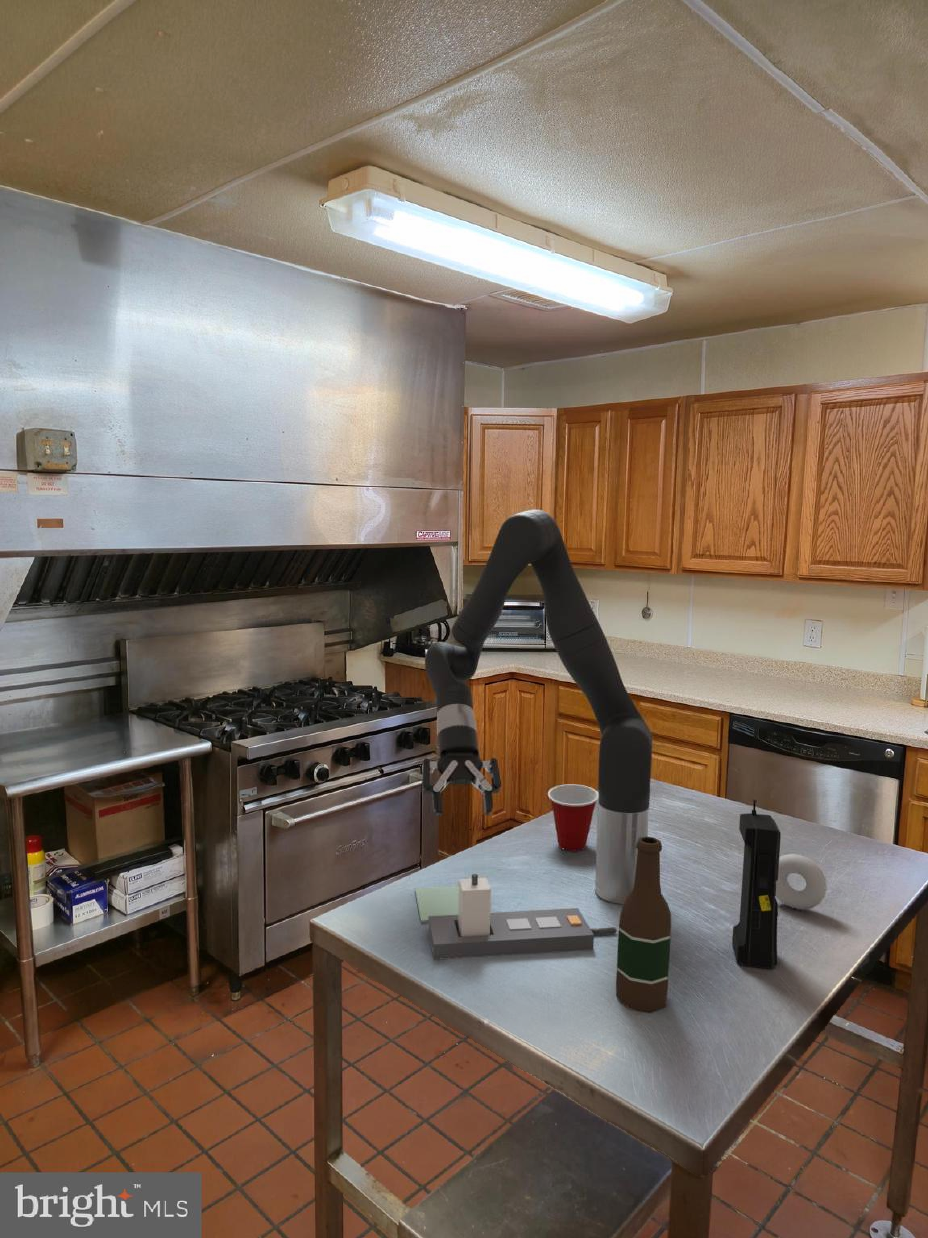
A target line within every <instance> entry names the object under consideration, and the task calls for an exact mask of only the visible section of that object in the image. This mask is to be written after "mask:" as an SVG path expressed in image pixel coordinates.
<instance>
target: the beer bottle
mask: <svg viewBox="0 0 928 1238" xmlns="http://www.w3.org/2000/svg"><path fill="white" fill-rule="evenodd" d="M636 848H637V849H638V854H637V863H636V872H635V881H634V887H633V890H632V891H631V892H630V893H629V895H628V896H627V897H626V899H625V901H624V904H622V906H621V911H620V914H619V922H618V930H617V932H618V933H617V935H618V936H617V958H616V977H615V980H616V981H615V984H616V985H615V997H616V998H617V1000H619V1002H621V1003H622V1004H623V1005H624V1006H626V1007H627V1008H628V1009H629V1010H632V1011H633V1010H635V1011H638V1012H645V1013H653V1012H656V1011H658V1010H661V1009H664V1008H665V1007H666V1005H667V1000H668V999H667V996H668V988H669V979H670V978H669V975H670V973H669V972H670V957H671V956H670V954H671V940H672V939H671V938H672V912H671V909H670V905H669V904H668V902H667V899H665V897H664V896H663V894H662V887H661V864H660V863H661V860H660V859H661V857H660V856H661V853H660V852H662V850H663V845H662V841H661V840H660V839H658V838H655V837H652V836H648V837H641V838H638V841H637V845H636Z"/></svg>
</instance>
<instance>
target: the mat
mask: <svg viewBox="0 0 928 1238" xmlns="http://www.w3.org/2000/svg"><path fill="white" fill-rule="evenodd" d="M414 893H415V897H416V902H417V908H418V909H417V910H418V915H419V919H420V923H421V924H428V916H442V915H458V900H459V885H457V886H438V887H417V888H415V889H414Z"/></svg>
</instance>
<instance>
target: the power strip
mask: <svg viewBox="0 0 928 1238" xmlns="http://www.w3.org/2000/svg"><path fill="white" fill-rule="evenodd" d="M427 924H428V928H427V930H428V935H429V939H430V940H429V941H430V946H432V947H431V951H433V952H432V955H433V956H434V957H433V960H441V959H440V958H449V959H460V958H461V959H462V958H464V959H465V958H477V957H478V958H479V957H493V956H511V955H524V954H525V955H526V954H541V953H543V954H544V953H558V952H575V951H590V950H591V951H592V950H594V947H595V946H594V944H595V943H594V942H595V941H594V940H595V936H598V935H600V936H601V935H615V934H617V932H618V929H617V928H616V927H612V926H611V927H597V928H590V926H589V924H588V922H587V920H586V918H584V916H583V914H582V912H581V911H580V909H579V908H578V907H575V908H574V907H573V908H572V907H571V908H555V909H554V908H553V909H538V910H534V909H533V910H519V911H500V912H497V911H496V912H490V935H484V936H467V937H458V915H442V916H428V923H427Z"/></svg>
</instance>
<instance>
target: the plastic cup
mask: <svg viewBox="0 0 928 1238" xmlns="http://www.w3.org/2000/svg"><path fill="white" fill-rule="evenodd" d="M547 795H548V798H549V800H550V803H551V807H552V812H553V813H552V814H553V819H554V826H555V831H556V838H557V843H558V847H559V846H560V847H561V848H560V847H559V848H560V849H562V848H564V849H566V850H565V851H568V850H571V851H570V852H578V851H577V850H580V851H582V850H581V849H583V848H584V849H585V848H586V846H587V843H588V839H589V838H588V837H589V833H590V829H591V824H592V822H593V821H592V820H593V815H594V810H595V807H596V805H597V802H598V801H599V791H597V790H596V789H594V788H593V787H589V786H586V785H584V784H574V783H572V784H571V783H570V784H569V783H568V784H561V785H556V786H554V787H552V788H550V789H549V790H548V792H547ZM564 849H563V850H564ZM584 849H583V850H584ZM574 850H575V851H574Z"/></svg>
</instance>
